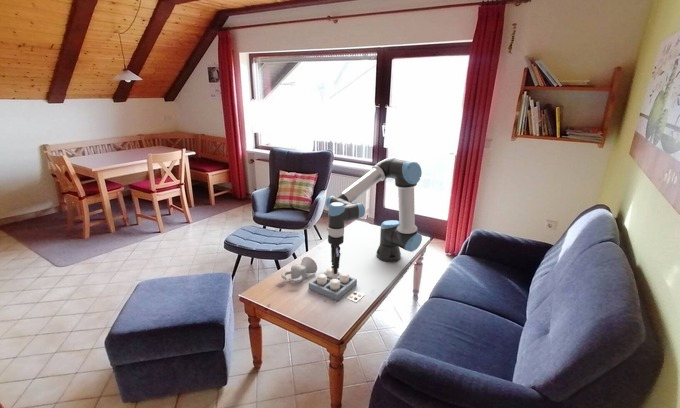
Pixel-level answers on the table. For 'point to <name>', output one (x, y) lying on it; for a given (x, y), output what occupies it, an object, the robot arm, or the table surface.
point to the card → (355, 296)
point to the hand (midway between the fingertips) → (334, 278)
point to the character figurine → (301, 270)
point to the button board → (329, 293)
